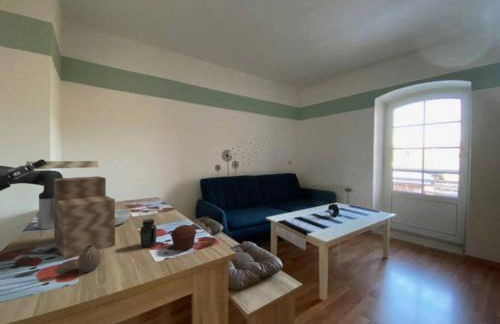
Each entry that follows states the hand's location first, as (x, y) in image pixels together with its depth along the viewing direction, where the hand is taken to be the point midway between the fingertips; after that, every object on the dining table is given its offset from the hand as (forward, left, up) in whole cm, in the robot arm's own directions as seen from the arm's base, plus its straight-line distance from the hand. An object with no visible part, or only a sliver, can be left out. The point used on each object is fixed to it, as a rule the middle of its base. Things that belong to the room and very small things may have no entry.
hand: (44, 161), depth 84 cm
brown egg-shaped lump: (+24, -14, -40) cm, 49 cm away
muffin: (+56, 0, -40) cm, 69 cm away
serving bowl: (+7, +39, -40) cm, 57 cm away
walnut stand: (+9, +11, -40) cm, 42 cm away
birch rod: (+5, +4, -3) cm, 7 cm away
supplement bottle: (+39, +5, -40) cm, 56 cm away
